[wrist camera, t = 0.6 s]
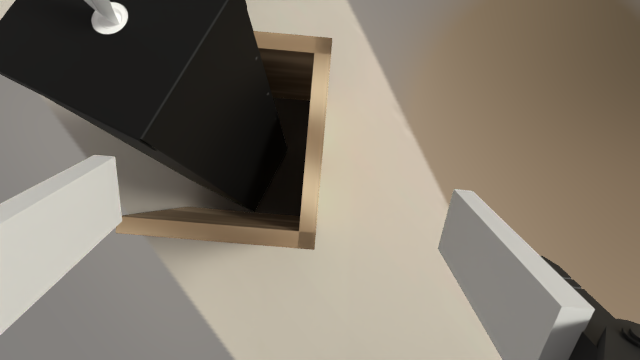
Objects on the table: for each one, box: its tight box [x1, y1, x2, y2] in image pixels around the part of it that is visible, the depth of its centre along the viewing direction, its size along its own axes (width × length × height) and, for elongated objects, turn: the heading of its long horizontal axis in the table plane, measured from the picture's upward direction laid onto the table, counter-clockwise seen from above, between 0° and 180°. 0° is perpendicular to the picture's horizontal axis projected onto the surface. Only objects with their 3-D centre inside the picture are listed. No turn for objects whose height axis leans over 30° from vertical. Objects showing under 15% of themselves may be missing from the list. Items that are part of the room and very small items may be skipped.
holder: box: [116, 31, 332, 250], centre depth 33 cm, size 15×14×14 cm
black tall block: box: [0, 0, 288, 212], centre depth 25 cm, size 8×8×28 cm
